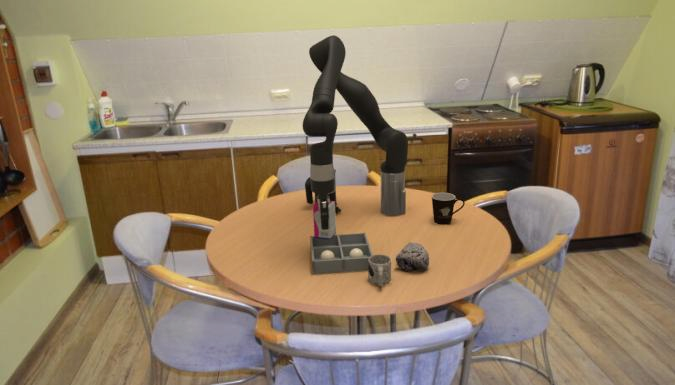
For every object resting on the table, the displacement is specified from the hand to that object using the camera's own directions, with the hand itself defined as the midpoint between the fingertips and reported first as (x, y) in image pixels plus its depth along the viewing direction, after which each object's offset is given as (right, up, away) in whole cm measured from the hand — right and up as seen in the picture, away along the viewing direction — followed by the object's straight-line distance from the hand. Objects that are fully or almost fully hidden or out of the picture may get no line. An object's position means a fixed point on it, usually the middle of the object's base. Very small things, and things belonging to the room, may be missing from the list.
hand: (324, 224), depth 168 cm
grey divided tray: (+5, -11, -1) cm, 12 cm away
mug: (+17, -16, -16) cm, 28 cm away
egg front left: (+10, -11, -5) cm, 16 cm away
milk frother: (+1, +4, +42) cm, 42 cm away
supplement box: (0, -4, +1) cm, 4 cm away
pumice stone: (+27, -13, -8) cm, 31 cm away
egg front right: (+1, -12, -6) cm, 13 cm away
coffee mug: (+45, -1, +25) cm, 52 cm away
